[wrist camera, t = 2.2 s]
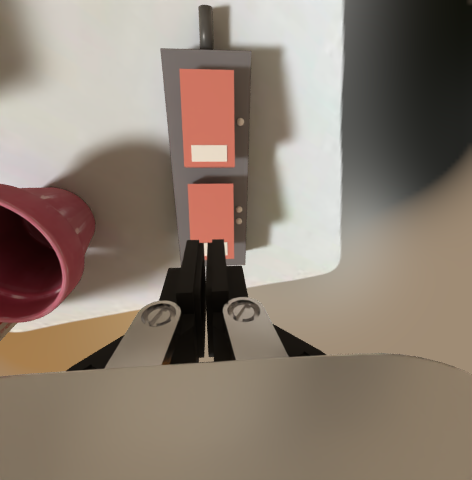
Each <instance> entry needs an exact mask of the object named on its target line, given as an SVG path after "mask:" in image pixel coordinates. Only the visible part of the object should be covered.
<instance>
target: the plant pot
mask: <svg viewBox="0 0 472 480" xmlns="http://www.w3.org/2000/svg"><path fill="white" fill-rule="evenodd" d="M94 232H95V219H94V216H93V213H92V211H91V210H90V208H89V207H88V205H87V204H86V203H85V202H84V201H83V200H82V199H81V198H80V197H78V196H77V195H75V194H73V193H72V192H69V191H67V190H64V189H60V188H53V187H49V188H17V187H14V186H9V185H5V184H0V322H5V323H19V322H27V321H32V320H35V319H38V318H41V317H43V316H45V315H47V314H49V313H50V312H52V311H53V310H54V309H55V308H57V307H58V306H59V305H60V304H61V303H62V301H63V300H64V299H65V298H66V297H67V296H68V295H69V294H70V293H71V292H72V290H73V289H74V288H75V287H76V285H77V284H78V282H79V281H80V279H81V276H82V274H83V270H84V263H85V262H84V255H85V253H86V250H87V248H88V246H89V243H90V241H91V239H92V237H93V235H94Z"/></svg>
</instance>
